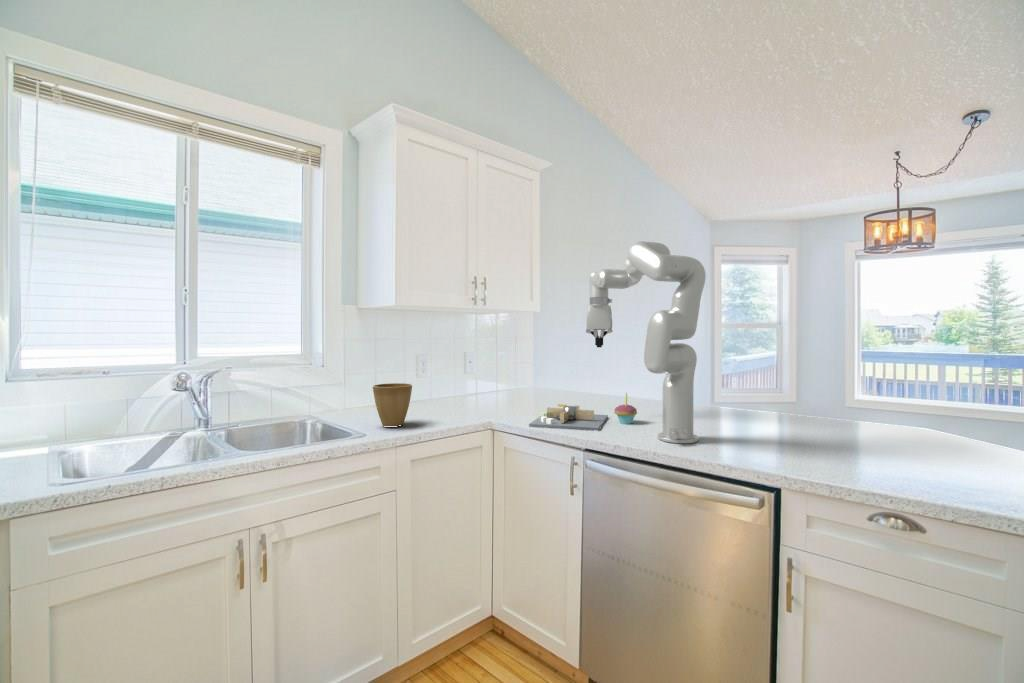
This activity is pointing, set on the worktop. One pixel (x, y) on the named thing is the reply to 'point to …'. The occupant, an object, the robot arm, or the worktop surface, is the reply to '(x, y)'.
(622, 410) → the cupcake
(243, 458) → the worktop surface
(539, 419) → the stand
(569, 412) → the tan cross shape
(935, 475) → the worktop surface
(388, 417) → the plant pot
